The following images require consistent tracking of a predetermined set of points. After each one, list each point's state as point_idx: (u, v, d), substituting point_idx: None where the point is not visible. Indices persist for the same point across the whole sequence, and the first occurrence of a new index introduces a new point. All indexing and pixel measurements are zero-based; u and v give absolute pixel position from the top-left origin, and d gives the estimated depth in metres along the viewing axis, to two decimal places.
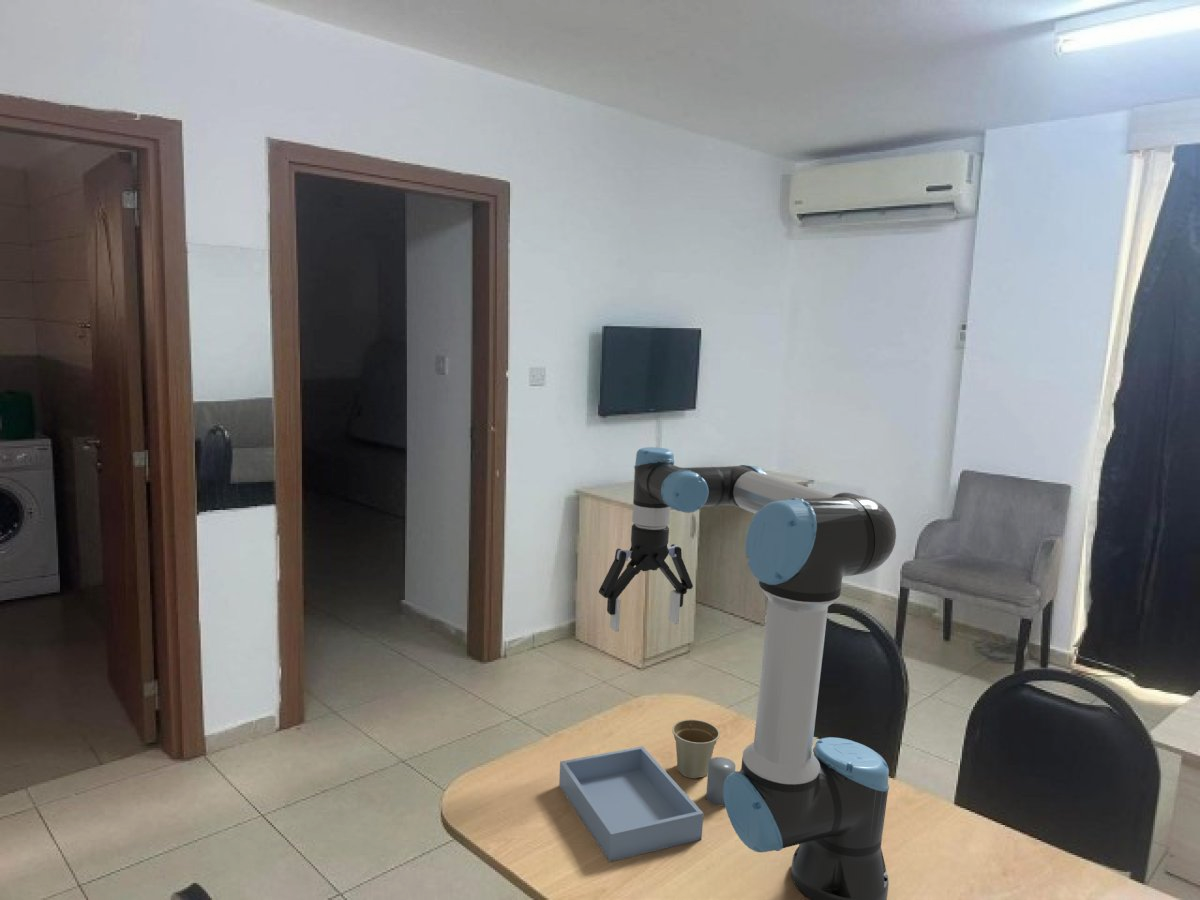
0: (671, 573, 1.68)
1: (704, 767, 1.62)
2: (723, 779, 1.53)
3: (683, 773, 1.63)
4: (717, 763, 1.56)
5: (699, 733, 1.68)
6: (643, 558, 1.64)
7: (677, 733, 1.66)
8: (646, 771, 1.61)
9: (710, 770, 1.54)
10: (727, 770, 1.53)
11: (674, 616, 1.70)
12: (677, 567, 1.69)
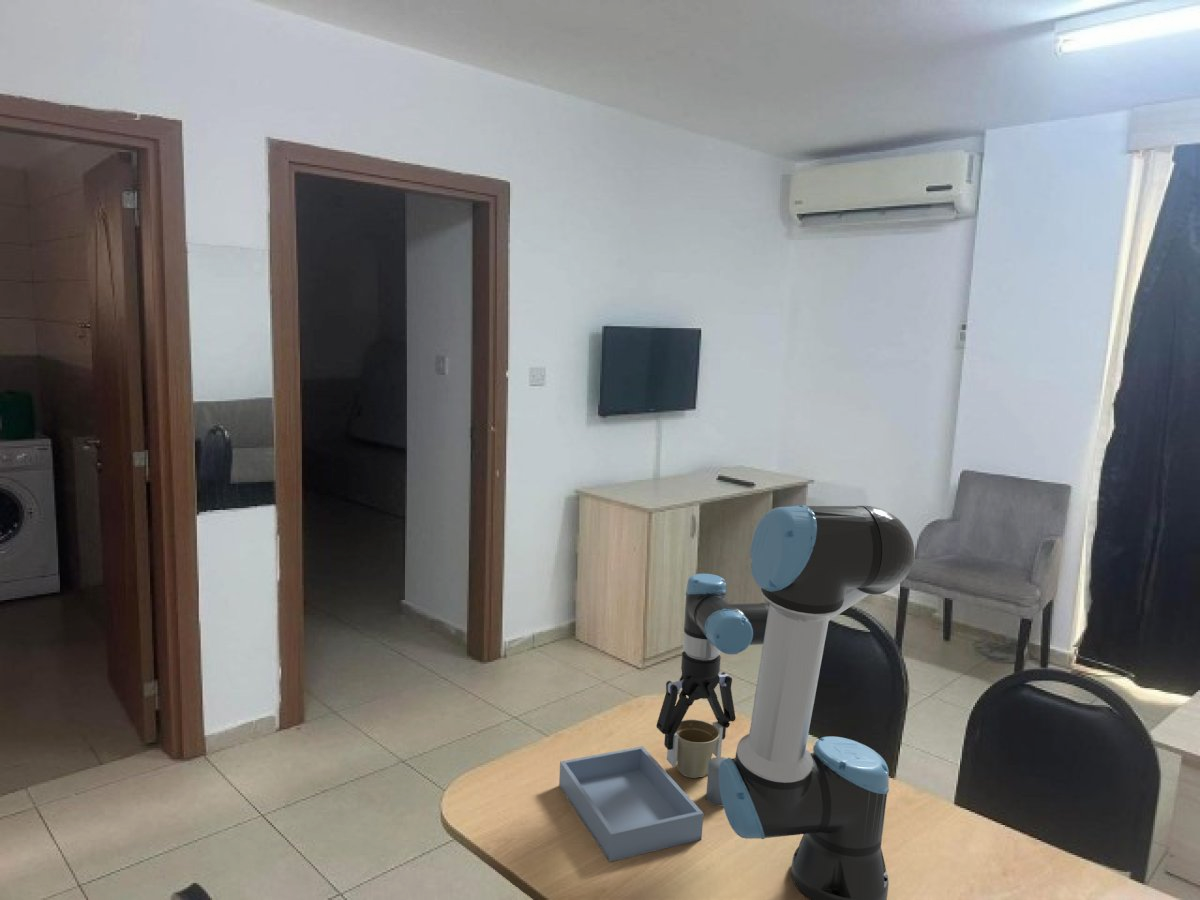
0: (718, 704, 1.64)
1: (704, 767, 1.62)
2: None
3: (683, 773, 1.63)
4: (717, 763, 1.56)
5: (699, 733, 1.68)
6: (694, 688, 1.60)
7: (677, 733, 1.66)
8: (646, 771, 1.61)
9: (710, 770, 1.54)
10: None
11: (716, 749, 1.66)
12: (724, 697, 1.65)
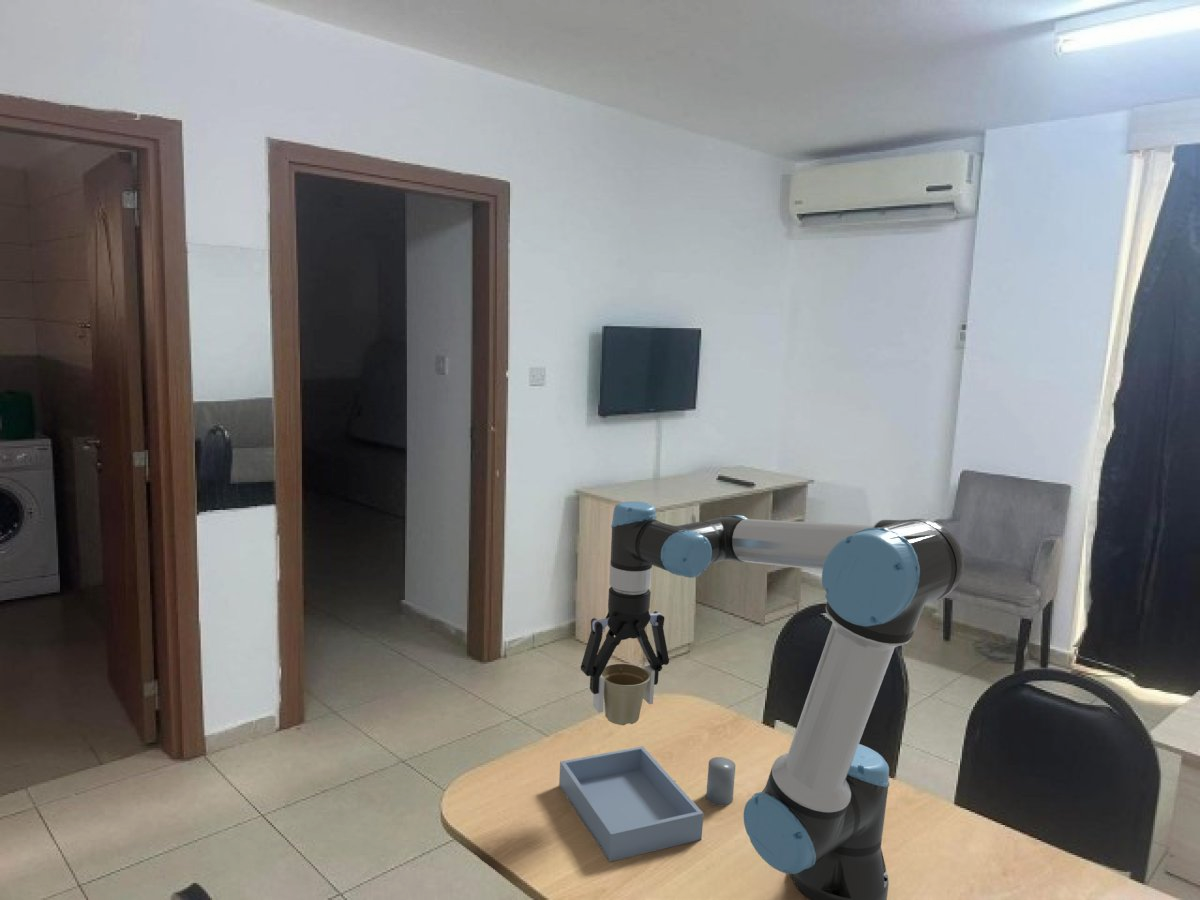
0: (649, 645, 1.50)
1: (633, 713, 1.49)
2: (723, 779, 1.53)
3: (610, 720, 1.50)
4: (717, 763, 1.56)
5: (630, 678, 1.54)
6: (621, 626, 1.47)
7: (605, 677, 1.53)
8: (646, 771, 1.61)
9: (710, 770, 1.54)
10: (727, 770, 1.53)
11: (648, 695, 1.52)
12: (656, 638, 1.52)
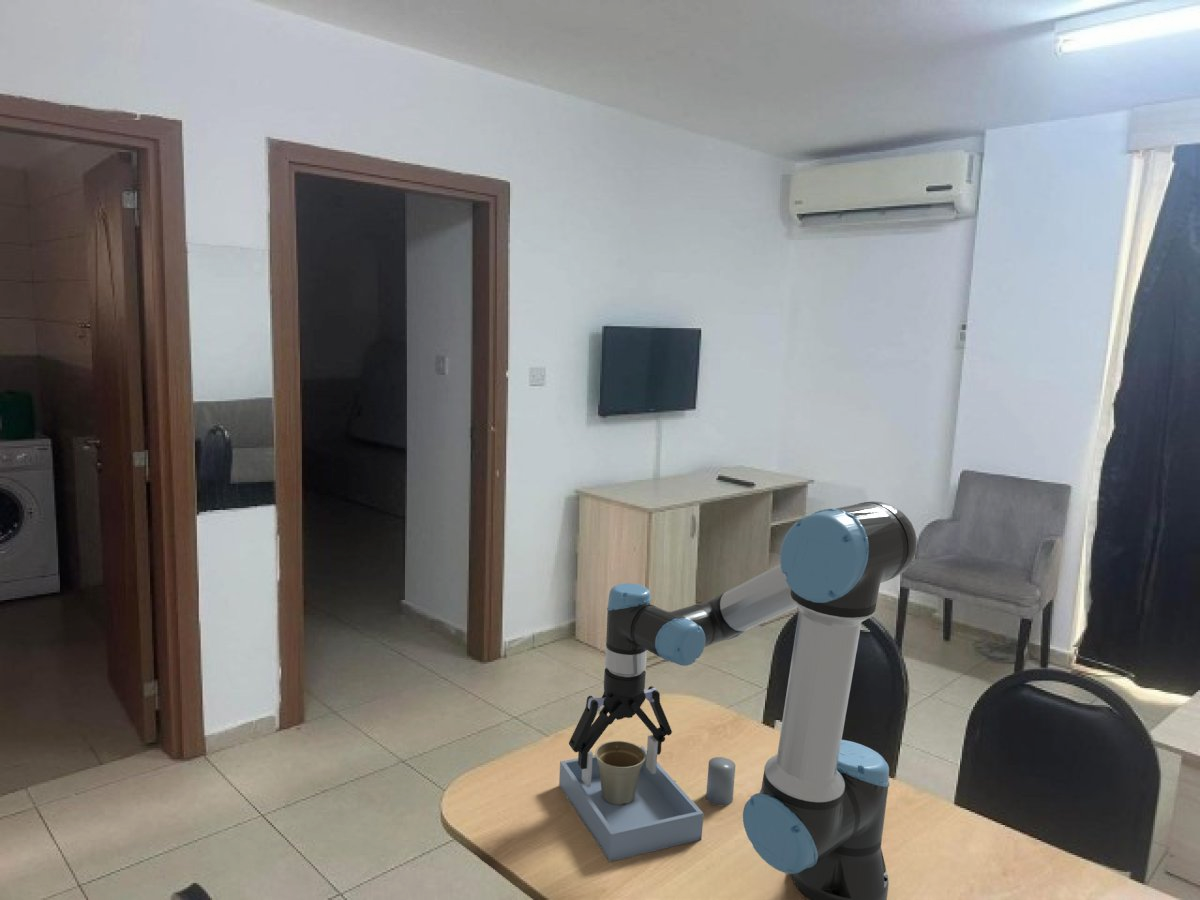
0: (648, 720, 1.53)
1: (628, 793, 1.51)
2: (723, 779, 1.53)
3: (606, 799, 1.52)
4: (717, 763, 1.56)
5: (625, 756, 1.57)
6: (616, 706, 1.49)
7: (601, 756, 1.55)
8: (646, 771, 1.61)
9: (710, 770, 1.54)
10: (727, 770, 1.53)
11: (651, 765, 1.55)
12: (655, 712, 1.54)
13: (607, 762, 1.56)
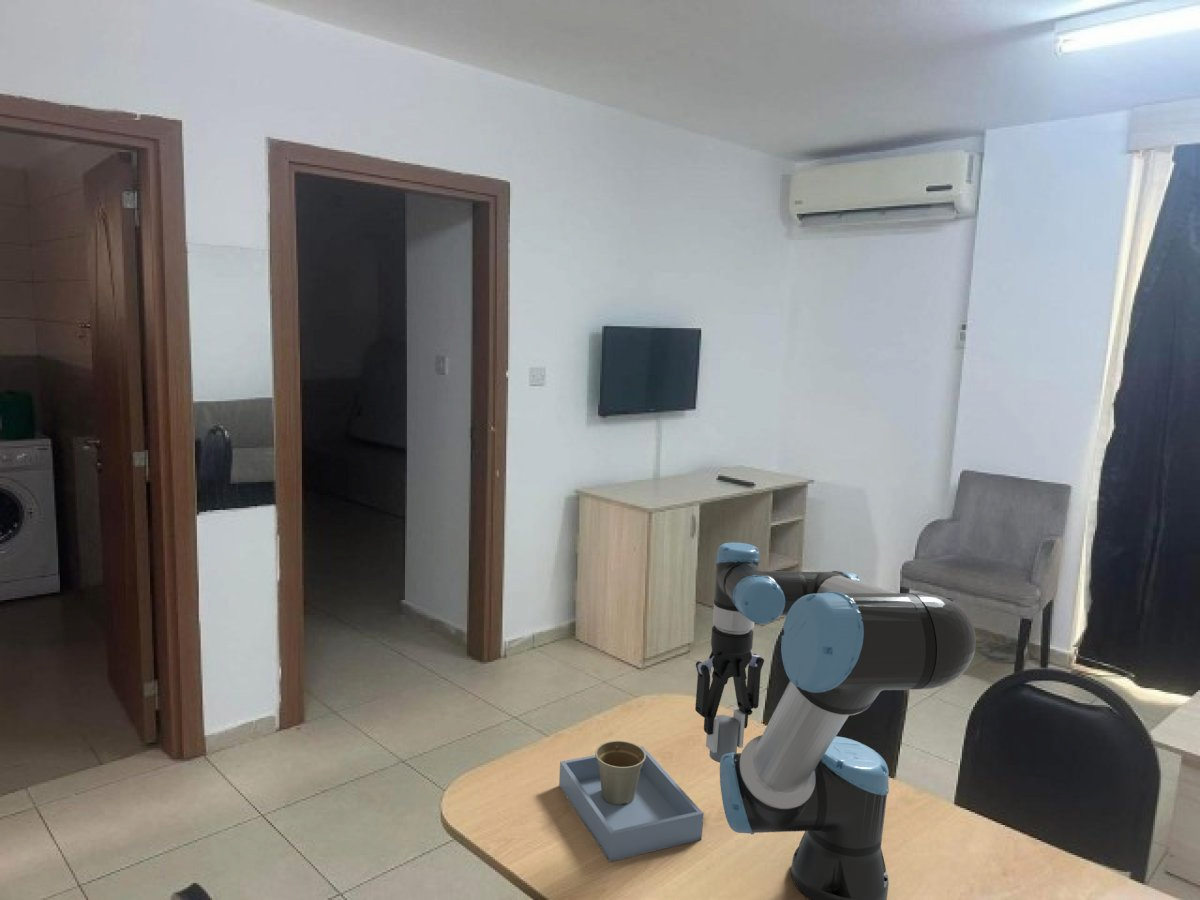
0: (745, 687, 1.53)
1: (628, 793, 1.51)
2: (727, 736, 1.51)
3: (606, 799, 1.52)
4: (721, 720, 1.54)
5: (625, 756, 1.57)
6: (725, 666, 1.50)
7: (601, 756, 1.55)
8: (646, 771, 1.61)
9: None
10: (731, 726, 1.52)
11: (738, 738, 1.54)
12: (751, 679, 1.54)
13: (607, 762, 1.56)
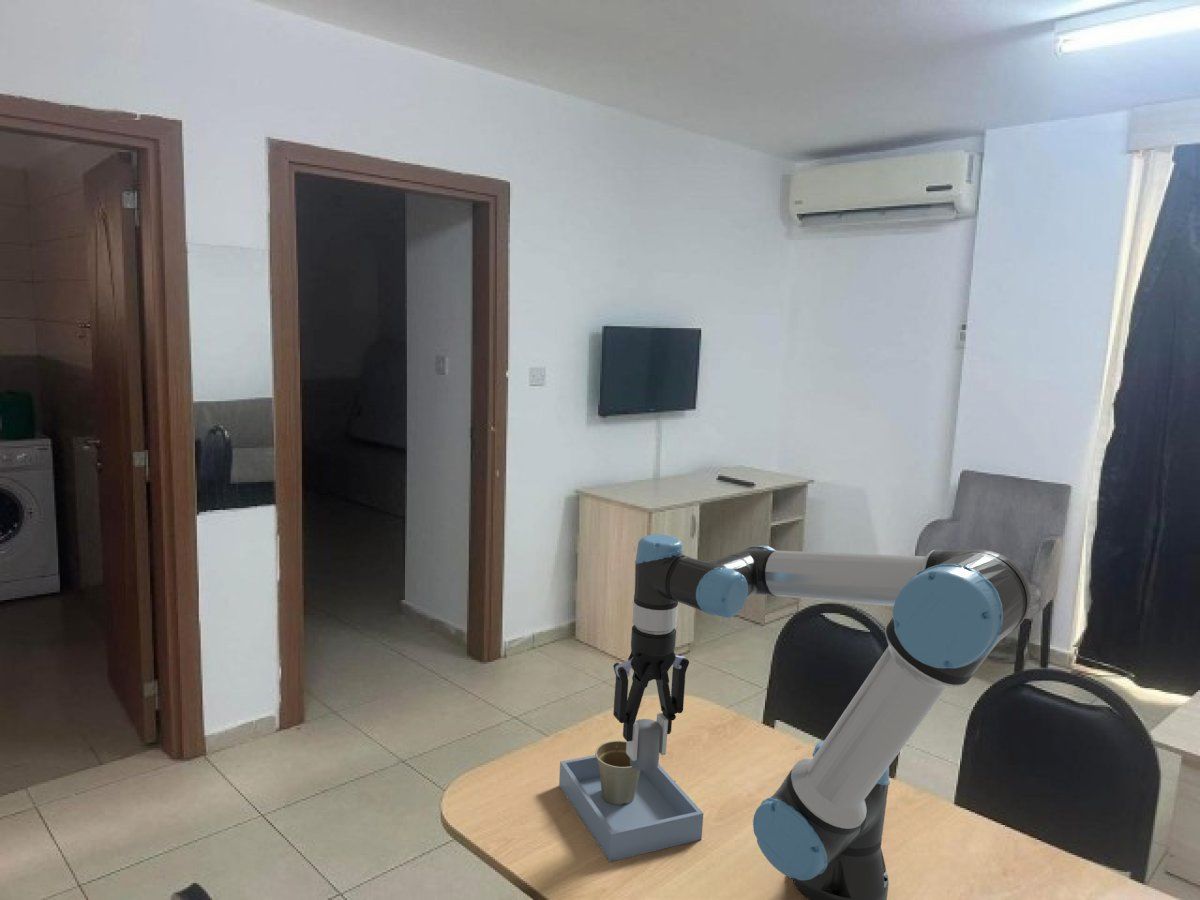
0: (667, 690, 1.41)
1: (628, 793, 1.51)
2: (647, 742, 1.40)
3: (606, 799, 1.52)
4: (642, 725, 1.43)
5: (625, 756, 1.57)
6: (645, 668, 1.38)
7: (601, 756, 1.55)
8: (646, 771, 1.61)
9: None
10: (652, 732, 1.41)
11: (660, 745, 1.43)
12: (675, 682, 1.43)
13: (607, 762, 1.56)
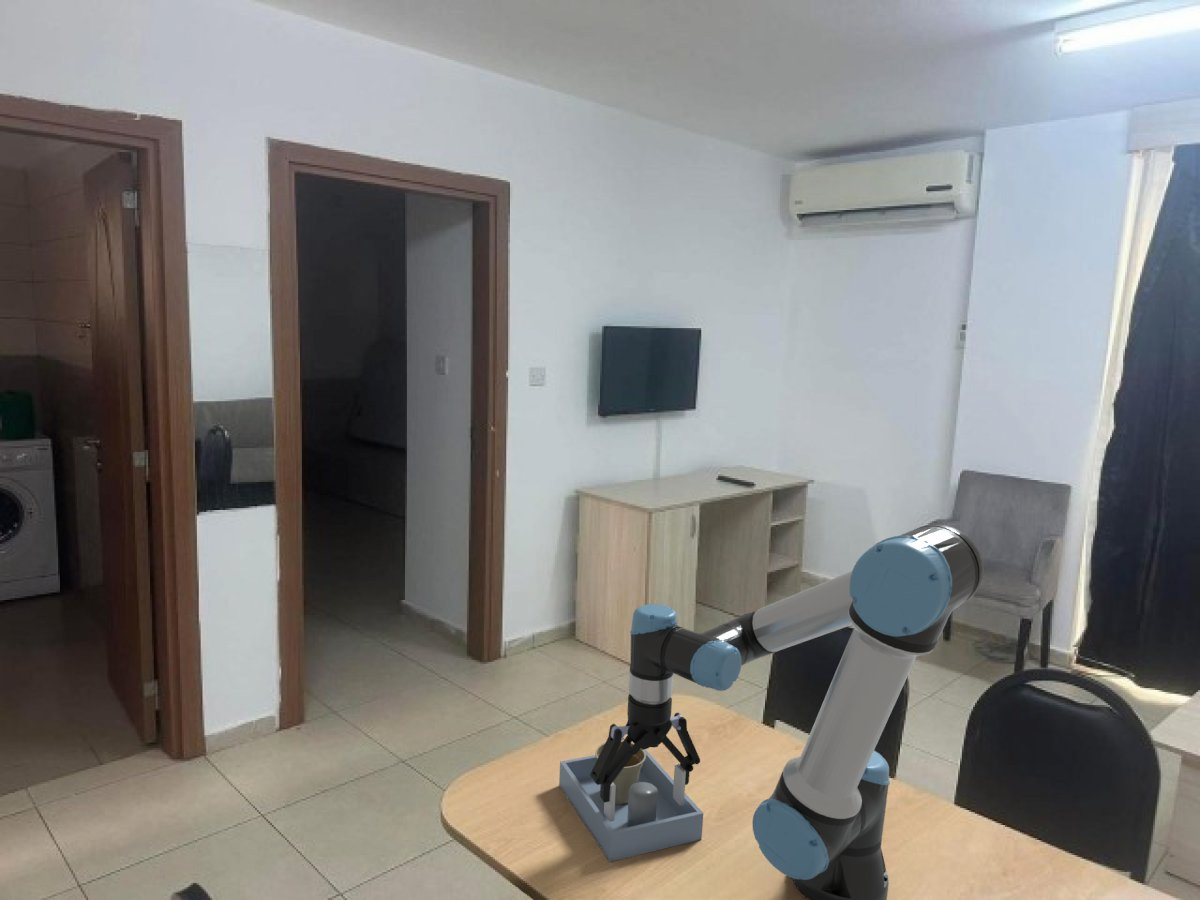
0: (675, 749, 1.44)
1: (628, 793, 1.51)
2: (644, 806, 1.42)
3: None
4: (639, 789, 1.45)
5: None
6: (641, 735, 1.40)
7: None
8: (646, 771, 1.61)
9: (630, 797, 1.44)
10: (648, 797, 1.42)
11: (678, 796, 1.46)
12: (682, 740, 1.45)
13: None
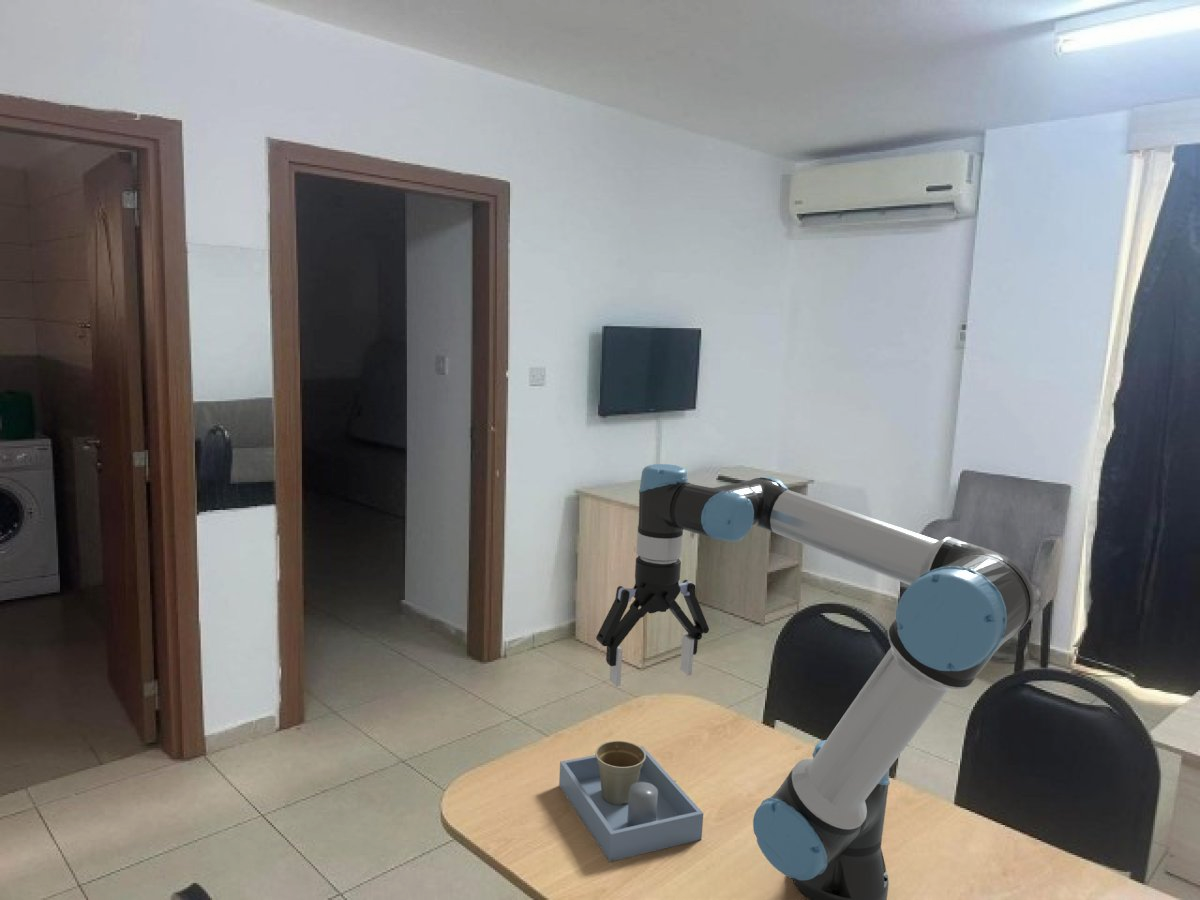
0: (683, 615, 1.40)
1: (628, 793, 1.51)
2: (643, 807, 1.42)
3: (606, 799, 1.52)
4: (639, 789, 1.45)
5: (625, 756, 1.57)
6: (649, 597, 1.36)
7: (601, 756, 1.55)
8: (646, 771, 1.61)
9: (630, 797, 1.43)
10: (648, 797, 1.42)
11: (686, 665, 1.42)
12: (691, 607, 1.41)
13: (607, 762, 1.56)
